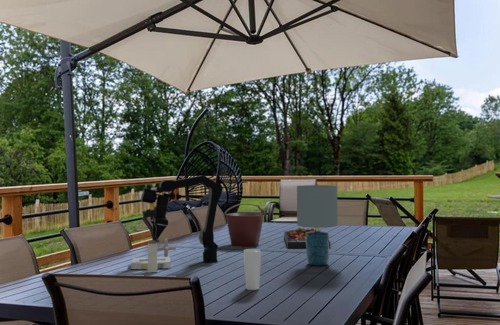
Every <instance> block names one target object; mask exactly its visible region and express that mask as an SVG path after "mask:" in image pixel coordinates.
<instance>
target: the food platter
mask: <svg viewBox="0 0 500 325" xmlns="http://www.w3.org/2000/svg"><path fill="white" fill-rule="evenodd" d="M305 228H306V227H298V228H295V229H291V230H285V231H284V233H283V238H284V240H285V241H284V242H285V244H286V248H287V249H306V233H307V232H311V231H315V228H306V229H305ZM329 249H331V241H330V240H329Z"/></svg>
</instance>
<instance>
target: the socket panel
mask: <svg viewBox="0 0 500 325" xmlns="http://www.w3.org/2000/svg"><path fill="white" fill-rule="evenodd" d="M158 268H168V269H171V256H168V257H164V256H157V270H159V269H158ZM131 269H146V270H148V257H132V260H131V263H130V270H131Z"/></svg>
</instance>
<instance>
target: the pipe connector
mask: <svg viewBox="0 0 500 325" xmlns="http://www.w3.org/2000/svg"><path fill="white" fill-rule="evenodd" d="M168 240H169V238H164V240H163V241H164V244H163V246H159V247H158V246H157V252H159V251H161V252H162V251H163V253H164V256H163V257H169V251H176V250H177V247H176V246H177V245H174V246H168V245H169V242H168Z"/></svg>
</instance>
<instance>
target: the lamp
mask: <svg viewBox="0 0 500 325" xmlns="http://www.w3.org/2000/svg"><path fill="white" fill-rule="evenodd" d="M296 214H297V215H296V223H297V224H296V225H297V226H298V227H300V228H310V229H312V228H314V230H315V231H311V232H307V233H306V248H305V249H306V250H305V251H306V252H305V254H306V262H307V263H308V265H310V266H315V267H316V266H317V267H322V266H323V267H324V266H326V265H328V263H329V258H330V248H329V241H330V235H329V234H330V233H329V232H327V231H322V230H321V228H326V229H327V228H335V227H337V226H338V225H339V224H338V223H339V221H338V185H334V184H332V185H331V184H330V185H329V184H327V185H326V184H323V185H321V184H319V185H318V184H317V185H316V184H315V185H313V184H311V185H310V184H307V185H297V186H296Z"/></svg>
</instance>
